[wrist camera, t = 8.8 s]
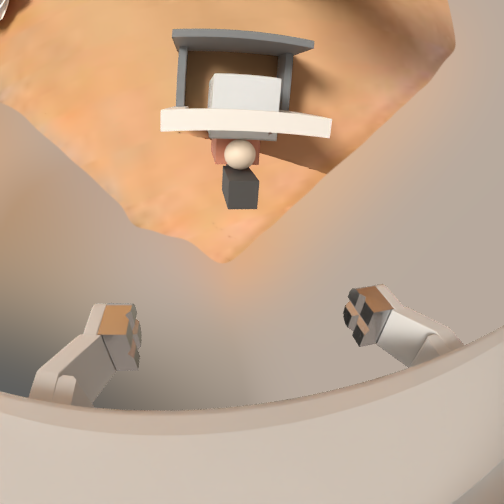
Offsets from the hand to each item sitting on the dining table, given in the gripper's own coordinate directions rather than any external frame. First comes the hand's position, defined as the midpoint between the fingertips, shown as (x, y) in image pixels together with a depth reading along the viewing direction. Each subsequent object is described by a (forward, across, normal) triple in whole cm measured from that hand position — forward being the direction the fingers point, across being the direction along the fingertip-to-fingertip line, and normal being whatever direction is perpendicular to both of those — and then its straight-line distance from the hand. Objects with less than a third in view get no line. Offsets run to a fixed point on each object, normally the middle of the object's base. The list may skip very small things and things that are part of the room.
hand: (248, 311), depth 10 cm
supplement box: (+35, -4, -7) cm, 36 cm away
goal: (+35, -3, -11) cm, 37 cm away
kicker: (+35, -3, -1) cm, 35 cm away
